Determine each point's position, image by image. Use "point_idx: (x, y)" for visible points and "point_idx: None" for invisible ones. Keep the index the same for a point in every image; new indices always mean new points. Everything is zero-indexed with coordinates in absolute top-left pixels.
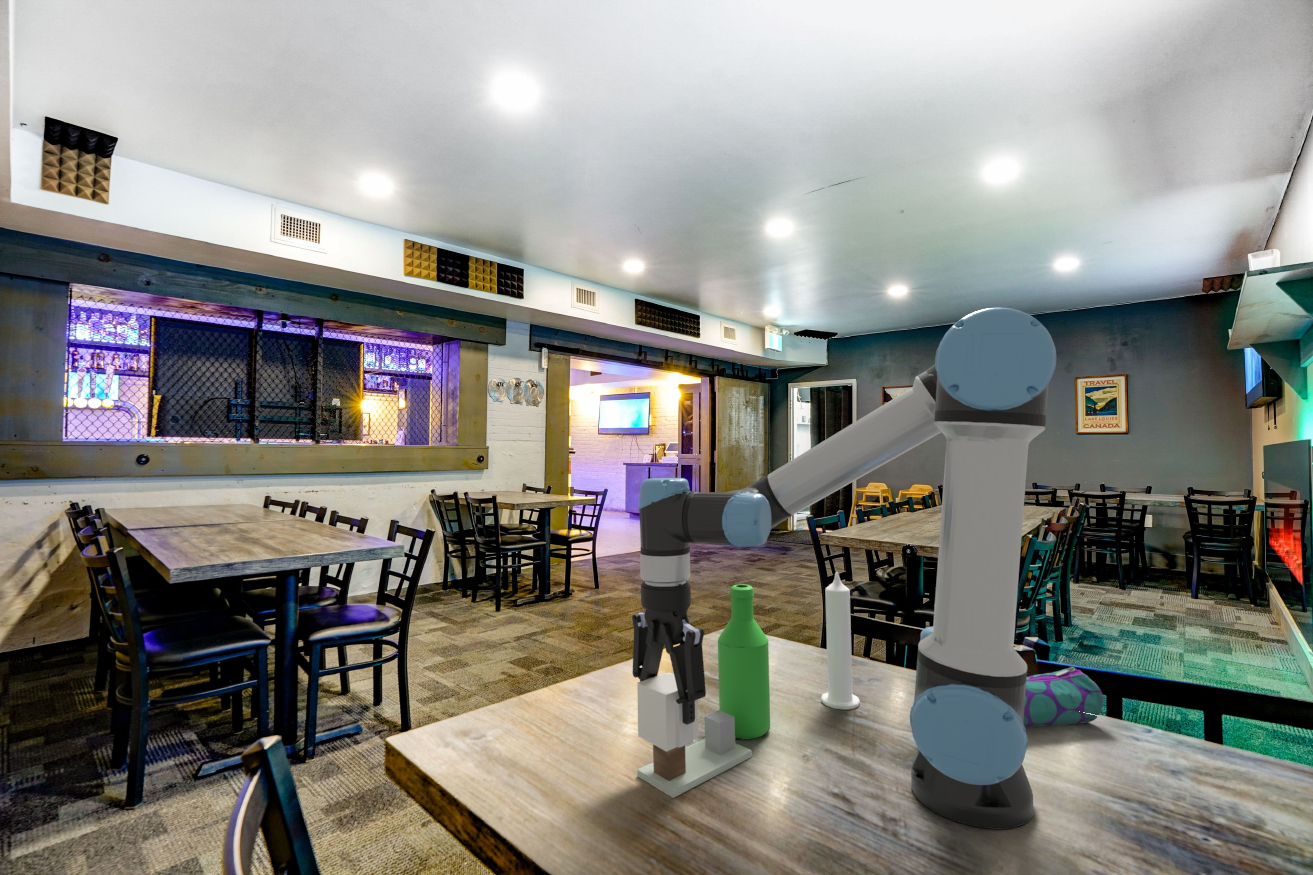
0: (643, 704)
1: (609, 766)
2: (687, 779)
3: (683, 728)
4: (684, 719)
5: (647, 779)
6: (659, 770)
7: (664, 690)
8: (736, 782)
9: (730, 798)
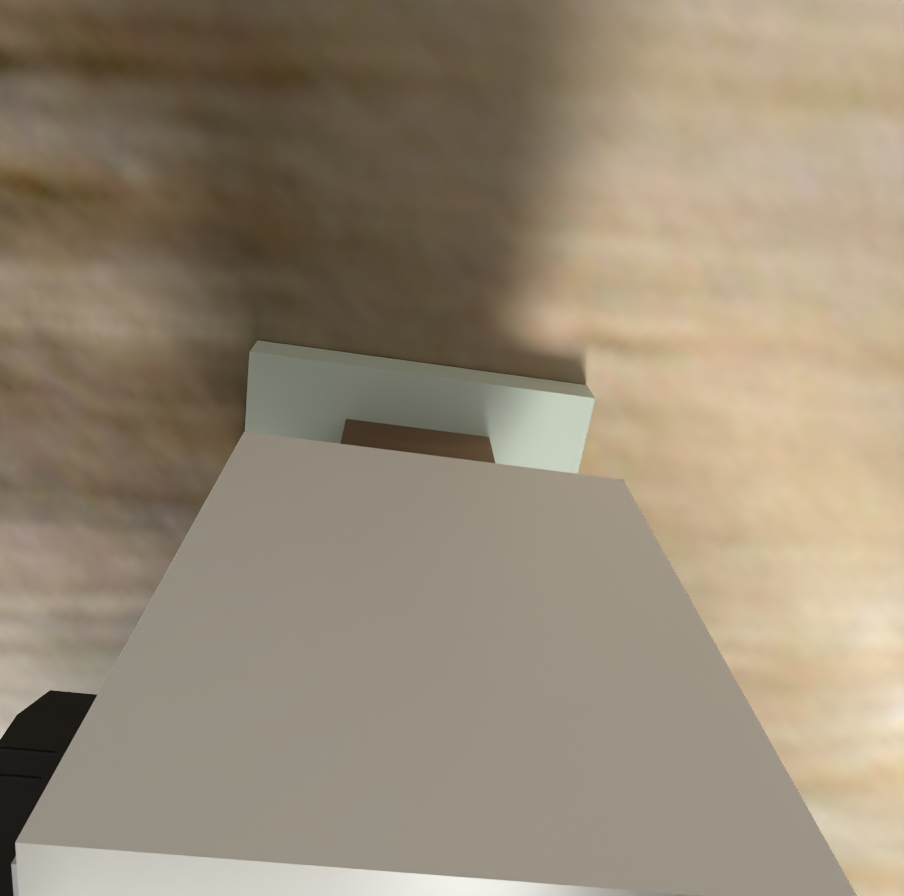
0: (612, 659)
1: (803, 359)
2: None
3: None
4: (78, 724)
5: (493, 377)
6: (433, 441)
7: None
8: (113, 657)
9: (25, 530)
